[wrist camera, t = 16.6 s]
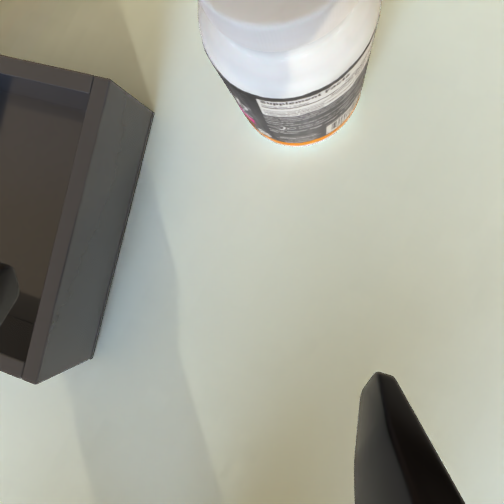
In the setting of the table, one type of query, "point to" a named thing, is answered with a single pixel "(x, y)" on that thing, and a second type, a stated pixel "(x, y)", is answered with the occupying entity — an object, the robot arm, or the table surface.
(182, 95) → the table surface
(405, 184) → the table surface
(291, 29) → the pill bottle
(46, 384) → the table surface
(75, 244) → the tray
